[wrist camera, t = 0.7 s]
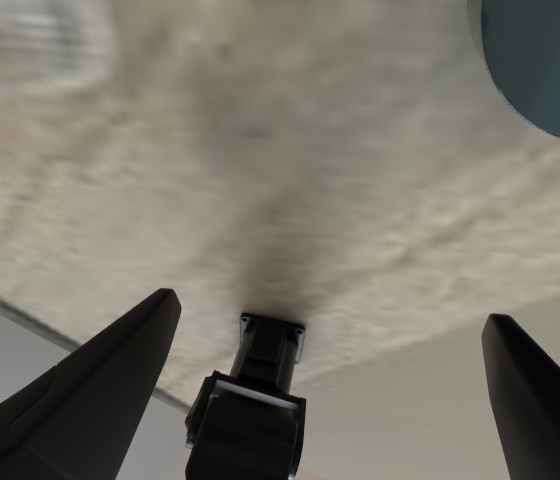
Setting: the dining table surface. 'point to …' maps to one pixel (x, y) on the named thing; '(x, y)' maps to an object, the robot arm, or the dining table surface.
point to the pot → (522, 55)
